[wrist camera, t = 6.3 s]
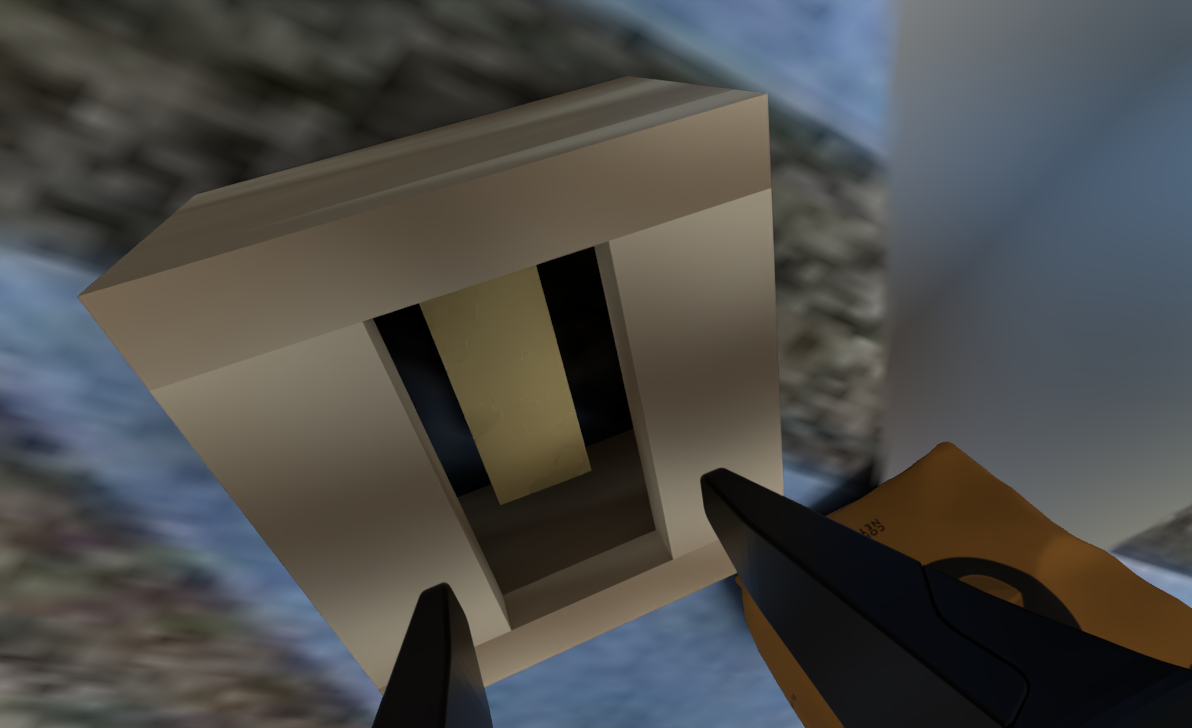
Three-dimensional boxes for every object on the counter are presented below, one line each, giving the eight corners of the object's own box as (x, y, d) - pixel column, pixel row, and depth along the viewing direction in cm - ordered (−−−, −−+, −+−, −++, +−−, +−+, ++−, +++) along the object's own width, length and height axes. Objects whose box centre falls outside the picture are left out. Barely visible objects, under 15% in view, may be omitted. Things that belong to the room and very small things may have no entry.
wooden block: (554, 393, 19) (591, 470, 15) (479, 419, 18) (500, 505, 15) (502, 213, 15) (534, 260, 12) (409, 240, 15) (416, 297, 12)
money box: (682, 423, 20) (785, 550, 15) (395, 537, 18) (404, 723, 13) (626, 75, 14) (767, 93, 9) (195, 194, 12) (76, 296, 7)
